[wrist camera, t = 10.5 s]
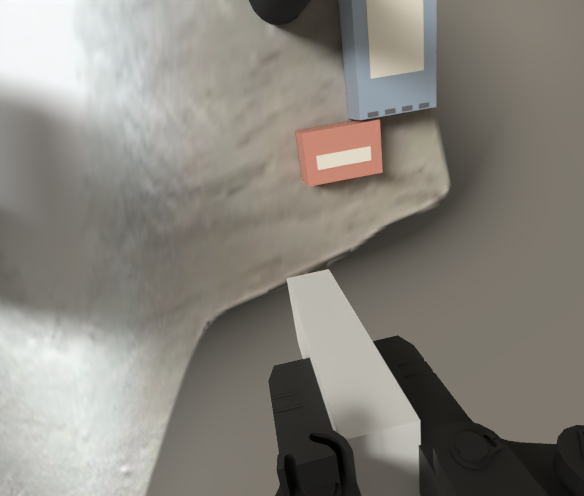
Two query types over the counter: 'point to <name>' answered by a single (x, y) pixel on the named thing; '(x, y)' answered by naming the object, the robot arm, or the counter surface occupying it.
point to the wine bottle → (278, 10)
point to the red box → (340, 151)
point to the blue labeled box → (389, 56)
